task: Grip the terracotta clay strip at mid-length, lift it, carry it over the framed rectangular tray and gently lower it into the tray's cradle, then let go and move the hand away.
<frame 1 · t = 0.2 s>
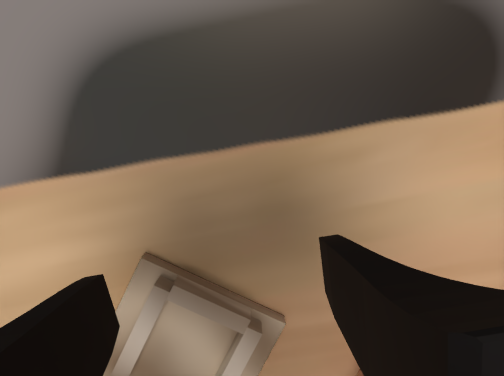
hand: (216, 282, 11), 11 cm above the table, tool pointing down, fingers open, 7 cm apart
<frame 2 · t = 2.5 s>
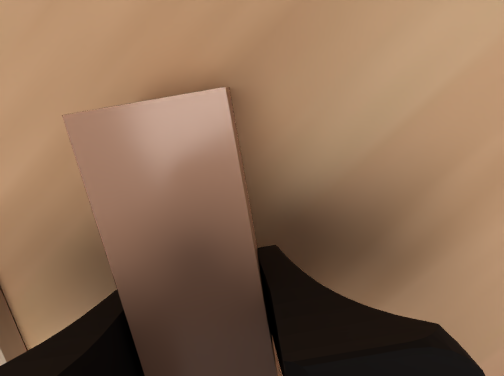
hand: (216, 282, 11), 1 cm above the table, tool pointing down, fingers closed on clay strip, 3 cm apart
clay strip: (218, 260, 13), on the table, touching gripper
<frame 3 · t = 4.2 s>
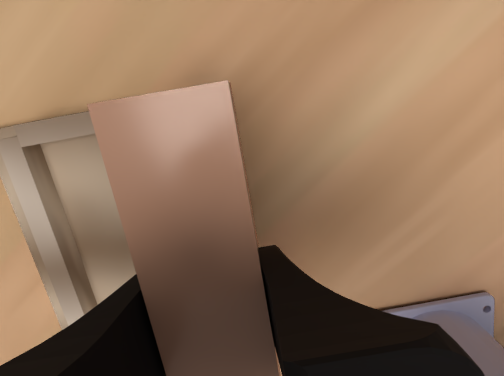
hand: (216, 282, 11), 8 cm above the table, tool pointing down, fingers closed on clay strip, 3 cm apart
framed rectangular tray: (133, 249, 20), on the table
clay strip: (220, 244, 14), point 6 cm above the table, touching gripper
when the fingers open (4 cm above the table, at t = 5.8 s): clay strip stays where it is, resting on framed rectangular tray.
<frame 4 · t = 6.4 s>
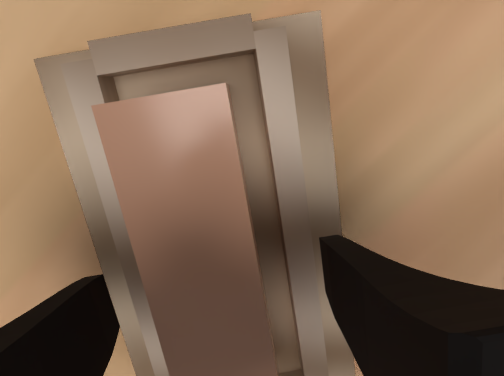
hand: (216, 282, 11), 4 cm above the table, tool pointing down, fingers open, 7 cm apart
framed rectangular tray: (221, 234, 15), on the table
clay strip: (219, 242, 14), point 1 cm above the table, touching framed rectangular tray
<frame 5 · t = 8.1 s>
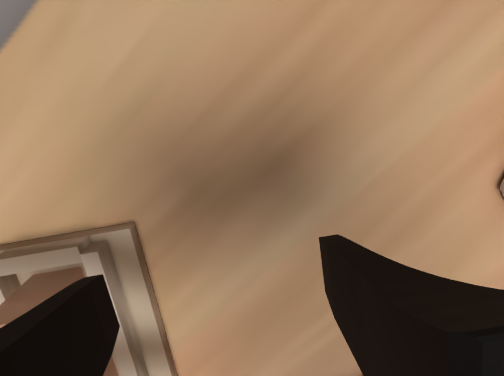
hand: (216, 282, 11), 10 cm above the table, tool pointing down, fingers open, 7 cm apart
framed rectangular tray: (92, 340, 24), on the table
clay strip: (86, 349, 23), point 1 cm above the table, touching framed rectangular tray
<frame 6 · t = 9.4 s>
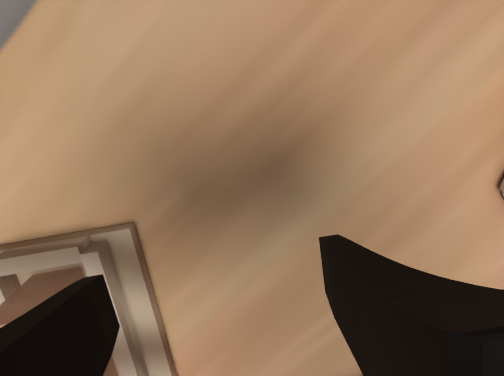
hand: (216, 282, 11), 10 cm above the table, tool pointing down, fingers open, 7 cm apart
framed rectangular tray: (92, 340, 24), on the table
clay strip: (86, 349, 23), point 1 cm above the table, touching framed rectangular tray
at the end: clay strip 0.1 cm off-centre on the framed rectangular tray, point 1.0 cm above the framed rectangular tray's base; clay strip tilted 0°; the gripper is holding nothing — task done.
